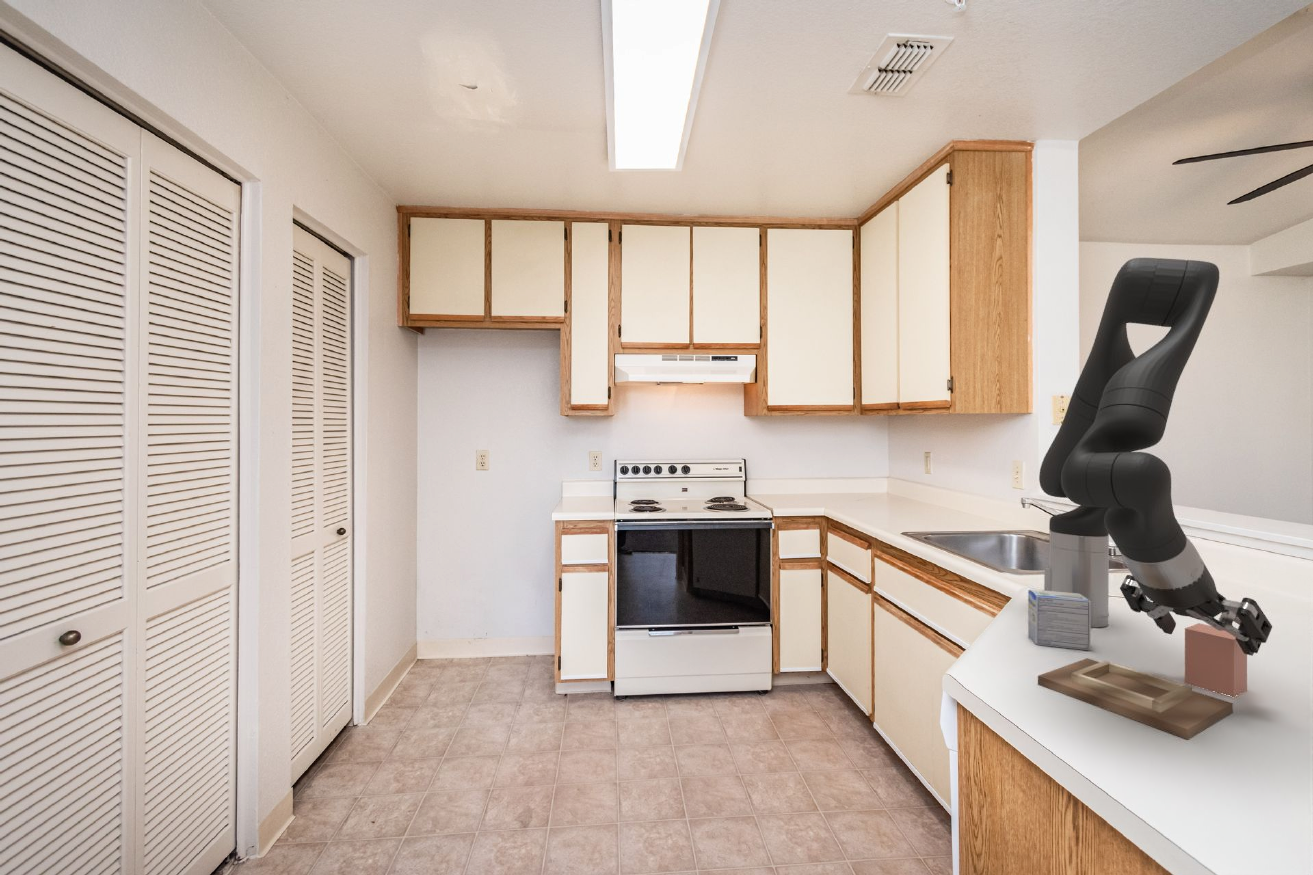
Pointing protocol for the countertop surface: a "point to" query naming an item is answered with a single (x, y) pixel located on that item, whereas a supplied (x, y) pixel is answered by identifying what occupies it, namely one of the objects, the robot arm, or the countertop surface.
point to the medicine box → (1059, 619)
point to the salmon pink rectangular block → (1214, 660)
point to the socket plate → (1138, 696)
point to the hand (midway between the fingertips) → (1208, 638)
